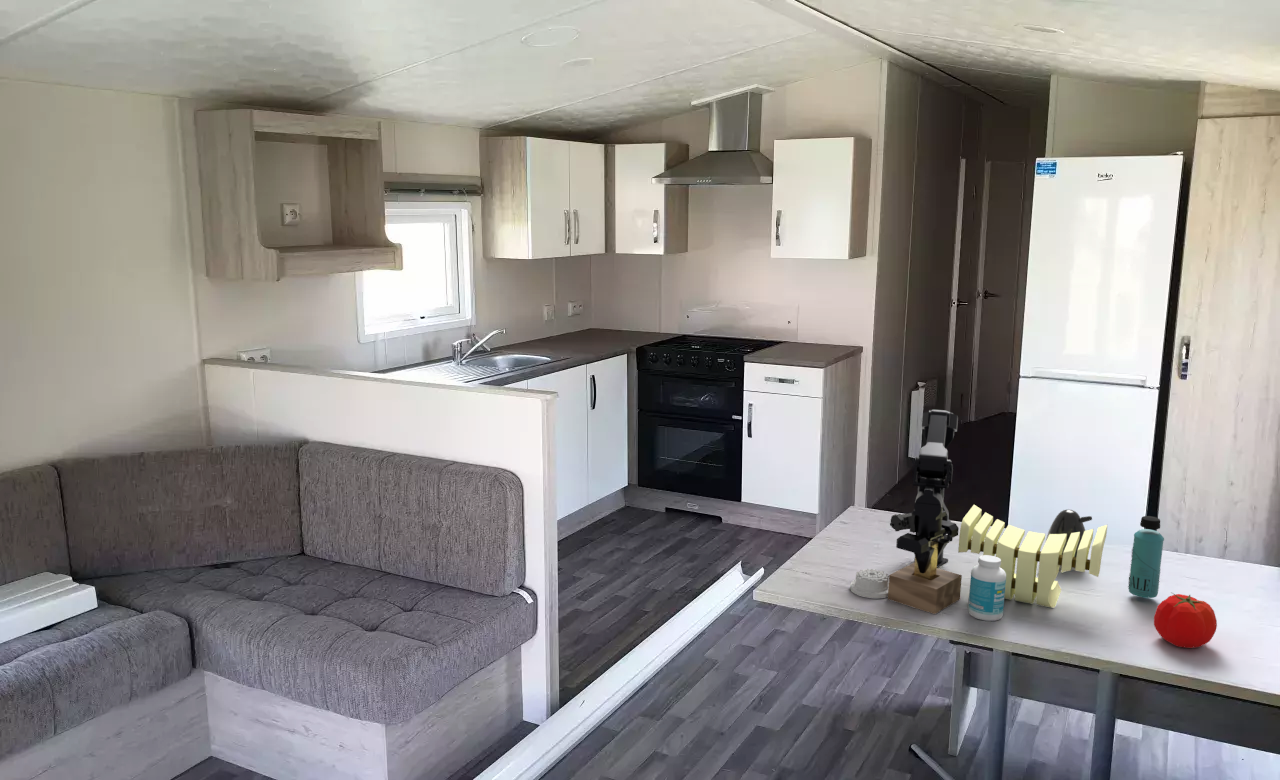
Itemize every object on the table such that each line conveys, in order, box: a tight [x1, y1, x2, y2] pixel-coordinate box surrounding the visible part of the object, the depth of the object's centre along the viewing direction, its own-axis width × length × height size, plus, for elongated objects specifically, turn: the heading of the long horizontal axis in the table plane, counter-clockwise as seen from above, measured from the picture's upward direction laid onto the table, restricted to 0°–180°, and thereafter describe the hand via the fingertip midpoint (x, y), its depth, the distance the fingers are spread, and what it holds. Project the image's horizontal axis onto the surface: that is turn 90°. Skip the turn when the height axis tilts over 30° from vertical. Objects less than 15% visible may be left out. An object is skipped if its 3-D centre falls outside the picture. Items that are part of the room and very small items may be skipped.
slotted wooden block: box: [887, 561, 963, 615], centre depth 225 cm, size 12×12×6 cm
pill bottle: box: [967, 554, 1006, 622], centre depth 216 cm, size 8×7×14 cm
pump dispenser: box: [1044, 509, 1093, 571], centre depth 246 cm, size 10×10×15 cm
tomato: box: [1153, 592, 1218, 649], centre depth 203 cm, size 12×12×10 cm
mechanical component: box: [849, 568, 889, 599], centre depth 231 cm, size 10×4×10 cm
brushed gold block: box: [914, 541, 938, 580], centre depth 224 cm, size 3×4×10 cm
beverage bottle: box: [1128, 515, 1165, 599], centre depth 225 cm, size 6×7×20 cm
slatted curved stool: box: [957, 504, 1108, 609], centre depth 227 cm, size 30×16×18 cm, turn 60°
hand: (925, 570), depth 225 cm, fingers closed on brushed gold block, 3 cm apart
